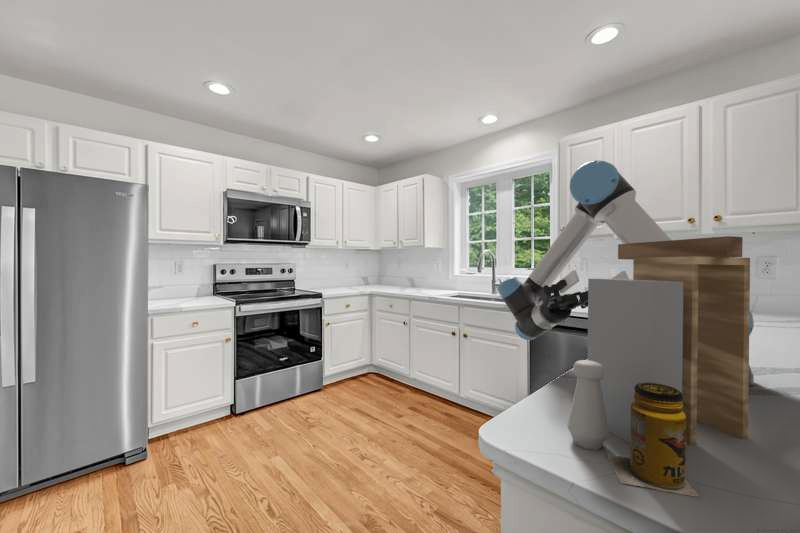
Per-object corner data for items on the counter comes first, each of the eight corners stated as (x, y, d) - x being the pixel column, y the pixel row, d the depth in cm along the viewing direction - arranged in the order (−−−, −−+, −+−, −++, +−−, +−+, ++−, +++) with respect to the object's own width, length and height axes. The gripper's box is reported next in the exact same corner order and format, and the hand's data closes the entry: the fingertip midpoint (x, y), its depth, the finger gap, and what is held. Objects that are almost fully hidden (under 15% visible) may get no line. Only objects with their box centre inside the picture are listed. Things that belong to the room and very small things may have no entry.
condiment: (699, 498, 44) (700, 399, 44) (620, 484, 46) (621, 391, 46) (674, 466, 51) (675, 381, 51) (606, 456, 53) (607, 375, 53)
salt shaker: (614, 455, 53) (615, 368, 53) (573, 450, 54) (574, 365, 54) (600, 436, 59) (601, 358, 59) (563, 433, 60) (564, 356, 60)
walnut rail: (630, 259, 77) (630, 244, 77) (742, 257, 57) (742, 236, 57) (617, 259, 76) (618, 244, 76) (726, 256, 56) (726, 236, 56)
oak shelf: (682, 411, 70) (684, 259, 70) (748, 438, 59) (750, 257, 59) (631, 416, 67) (633, 257, 67) (690, 444, 57) (692, 256, 57)
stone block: (613, 415, 68) (615, 278, 68) (681, 449, 55) (683, 281, 55) (586, 417, 66) (588, 278, 67) (649, 453, 54) (651, 281, 54)
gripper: (594, 323, 102) (653, 290, 84) (514, 325, 96) (559, 290, 78) (584, 299, 105) (639, 262, 87) (507, 299, 100) (549, 261, 82)
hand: (601, 275), depth 83 cm, fingers open, 13 cm apart
